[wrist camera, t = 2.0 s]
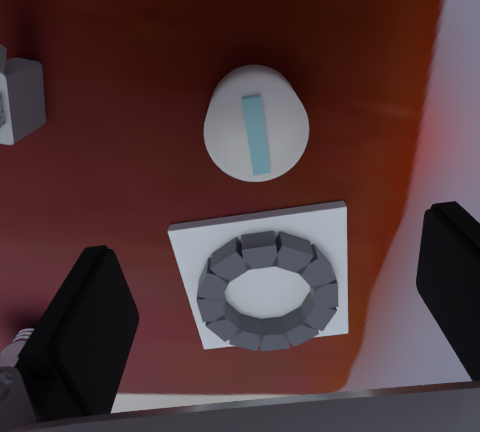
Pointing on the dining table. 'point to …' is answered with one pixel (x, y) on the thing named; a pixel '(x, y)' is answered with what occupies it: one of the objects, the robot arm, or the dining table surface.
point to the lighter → (20, 98)
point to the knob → (255, 124)
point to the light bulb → (15, 348)
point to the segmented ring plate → (266, 275)
